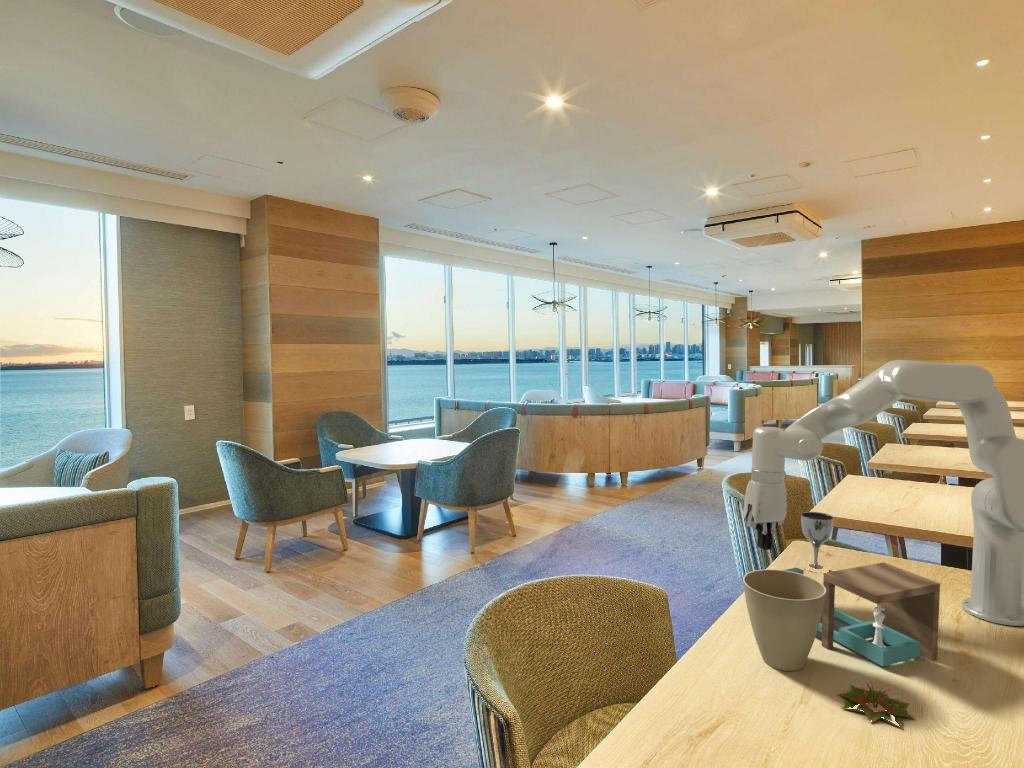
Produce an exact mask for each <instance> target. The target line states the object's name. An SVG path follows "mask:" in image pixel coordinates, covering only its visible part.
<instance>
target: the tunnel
mask: <svg viewBox="0 0 1024 768" xmlns="http://www.w3.org/2000/svg"><path fill="white" fill-rule="evenodd" d="M822 584H823V585H824V586H825V588H826V596H825V601H824V607H823V612H822V616H821V620H820V623H822V633H821V632H819V631H817V634H816V637H815V639H817V640H819V641H820V642H821V646H822V647H823V648H825V649H827V650H828V649H833V648H834V641H835V640H834V639H833V634H834V630H835V631H837V632H839V628H842V627H846V626H851V625H850V624H848V623H846V622H844V621H842V620H840V619H838V618H836V617H834V608H835V597H836V596H835V595H836V587H838V588H841V589H843V590H845V591H846V592H849V593H852V594H853V595H856V596H859V597H860V598H863V599H864V600H867V601H869V602H872V603H874V604H876V607H878V604H881V607H883V608H885V610H884V611H883V610H881V613H883V614H884V615H885V618H884V620H883V622H882V624H883V625H885V626H887V627H889V628H891V629H893V630H895V631H897V632H899V633H902V634H904V635H906V636H908V637H910V638H912V639H914V640H916V641H918V642H920V656H921V657H924V658H926V659H927V660H929V661H935V660H938V648H939V646H938V641H939V622H940V597H941V594H940V593H941V583H940V582H938V581H935V580H933V579H929V578H927V577H924V576H923V575H922V576H921V575H919V574H916V573H913V572H911V571H908V570H905V569H902V568H899V567H897V566H895V565H892V564H890V563H887V562H879V563H873V564H867V565H861V566H856V567H851V568H845V569H839V570H838V569H837V570H834V571H830V572H827V573H823V582H822ZM876 612H878V610H876Z"/></svg>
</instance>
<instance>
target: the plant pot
mask: <svg viewBox="0 0 1024 768" xmlns="http://www.w3.org/2000/svg"><path fill="white" fill-rule="evenodd" d="M785 570H786V569H772V568H771V569H769V568H767V569H764V568H763V569H756V570H752V571H749V572H747V573H745V574H744V575H743V577H742V582H743V590H744V595H745V597H744V598H745V603H746V608H747V613H748V617H749V621H750V625H751V629H752V632H753V634H754V635H753V636H754V638H755V641H756V642H755V643H756V644H757V647H758V650H759V653H760V655H761V658H762V660H763V662H764V663H765V664H766V663H767V664H766V665H768V666H769V667H770V668H773V669H776V670H778V671H779V670H780V671H784V672H796V671H799V670H801V669H802V668H803V667H804V665H805V663H806V661H807V660H808V656H809V654H810V652H811V650H812V648H813V645H814V642H815V640H816V638H815V637H816V634H817V631H818V627H819V624H820V620H821V616H822V612H823V607H824V601H825V596H826V588H825V586H824V585H823V582H821V581H819V580H817V579H815V578H813V577H811V576H808V575H806V574H804V575H803V574H800V573H796V572H791V571H785Z"/></svg>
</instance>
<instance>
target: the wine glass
mask: <svg viewBox="0 0 1024 768" xmlns="http://www.w3.org/2000/svg"><path fill="white" fill-rule="evenodd" d="M800 522H801V531H802V533H803V535H804V536H805V538H806V539H807V540H808V542H809V543H810V544H811V546H812V549H813V555H814V559H813V560H814V561H813V564H809V566H810V567H812V568H815V569H822V568H823V566H824V565H823V566H821V565H822V564H819V563H818V558H819V557H818V556H819V551H820V548H821V547H822V546H823V544H825V542H827V541H829V539H830V538H831V536H832V533H833V528H834V516H833V515H831V514H829V513H826V512H825V513H824V512H820V511H803V512H801V517H800ZM818 564H819V565H818Z"/></svg>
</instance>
